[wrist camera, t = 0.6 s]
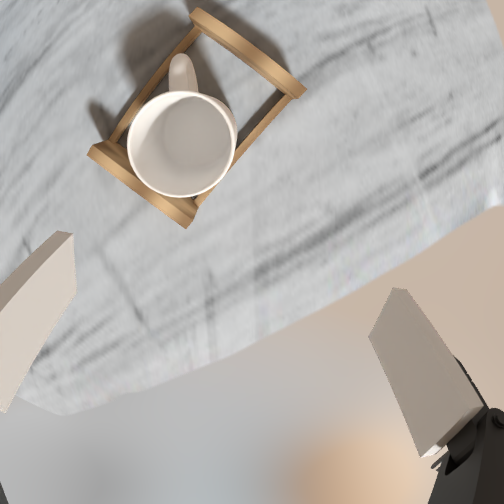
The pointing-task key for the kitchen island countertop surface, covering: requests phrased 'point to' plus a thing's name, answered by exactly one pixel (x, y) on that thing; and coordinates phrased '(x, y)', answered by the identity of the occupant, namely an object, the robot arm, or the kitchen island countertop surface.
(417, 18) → the kitchen island countertop surface
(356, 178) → the kitchen island countertop surface
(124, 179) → the caddy
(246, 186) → the kitchen island countertop surface
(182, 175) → the mug
